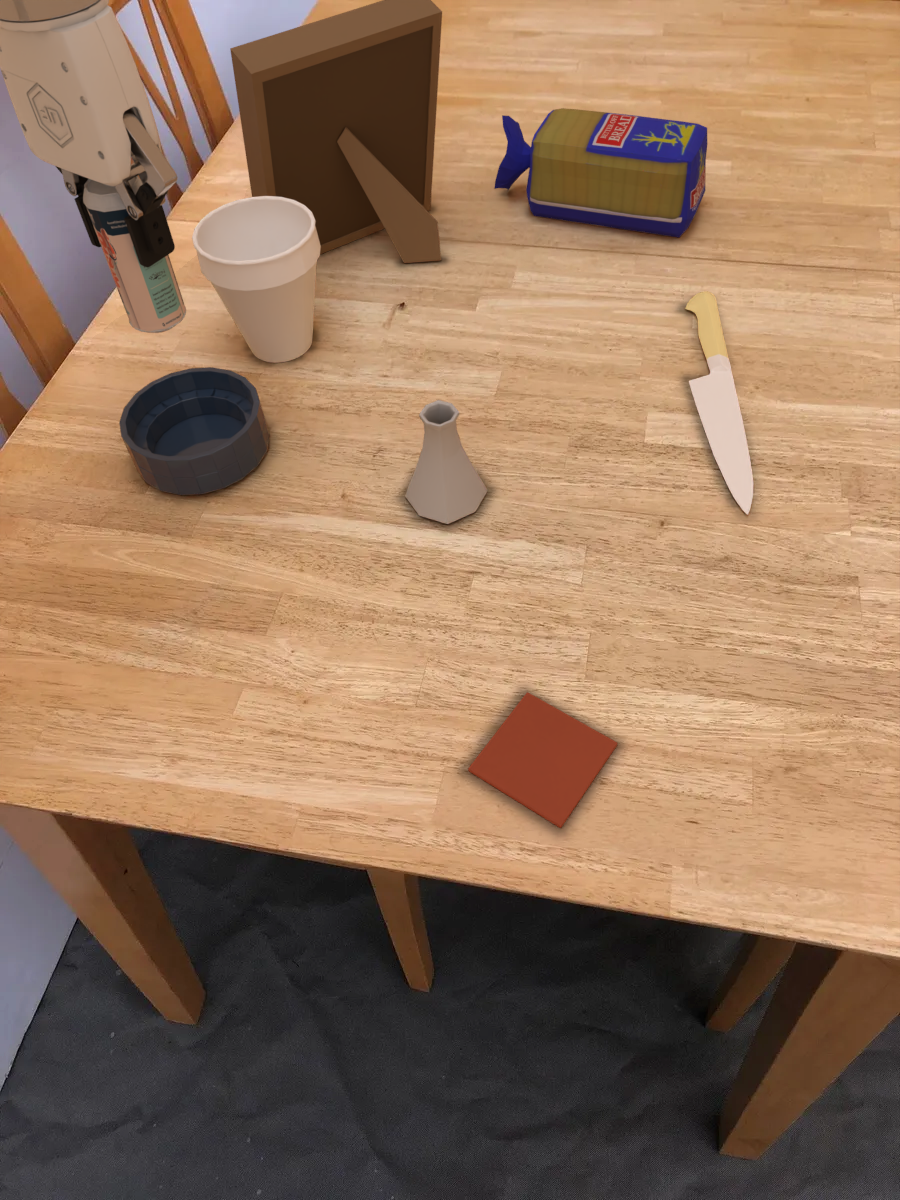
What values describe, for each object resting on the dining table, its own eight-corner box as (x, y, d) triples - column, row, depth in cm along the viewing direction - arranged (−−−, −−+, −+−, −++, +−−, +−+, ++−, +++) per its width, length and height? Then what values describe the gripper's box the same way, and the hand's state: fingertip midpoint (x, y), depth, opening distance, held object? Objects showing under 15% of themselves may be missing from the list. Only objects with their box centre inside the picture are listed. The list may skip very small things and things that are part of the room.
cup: (277, 297, 107) (250, 183, 96) (359, 331, 102) (341, 214, 91) (202, 355, 101) (165, 240, 90) (286, 393, 96) (256, 276, 85)
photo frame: (261, 256, 112) (206, 30, 93) (412, 196, 119) (391, -27, 99) (318, 313, 104) (272, 80, 85) (477, 246, 111) (468, 15, 91)
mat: (560, 828, 65) (560, 826, 65) (468, 771, 68) (467, 768, 68) (617, 745, 69) (617, 742, 69) (527, 694, 72) (527, 691, 72)
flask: (391, 499, 86) (378, 416, 78) (444, 457, 89) (437, 373, 81) (448, 536, 83) (440, 454, 75) (501, 491, 86) (499, 408, 78)
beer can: (142, 302, 79) (92, 165, 70) (195, 304, 79) (152, 165, 70) (122, 336, 77) (68, 197, 67) (177, 338, 76) (130, 198, 67)
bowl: (203, 518, 86) (188, 480, 82) (109, 464, 91) (90, 426, 87) (297, 436, 92) (287, 396, 88) (204, 390, 97) (191, 351, 93)
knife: (715, 514, 82) (768, 507, 81) (671, 293, 102) (713, 285, 101) (716, 524, 83) (768, 517, 82) (672, 303, 103) (714, 295, 102)
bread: (687, 246, 108) (701, 159, 100) (488, 215, 115) (486, 131, 107) (706, 202, 114) (720, 116, 106) (516, 175, 120) (515, 92, 112)
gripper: (-88, -19, 60) (27, 241, 74) (83, 29, 53) (174, 305, 67) (6, -55, 63) (99, 199, 78) (178, -15, 57) (245, 256, 71)
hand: (133, 246), depth 72 cm, fingers closed on beer can, 4 cm apart
